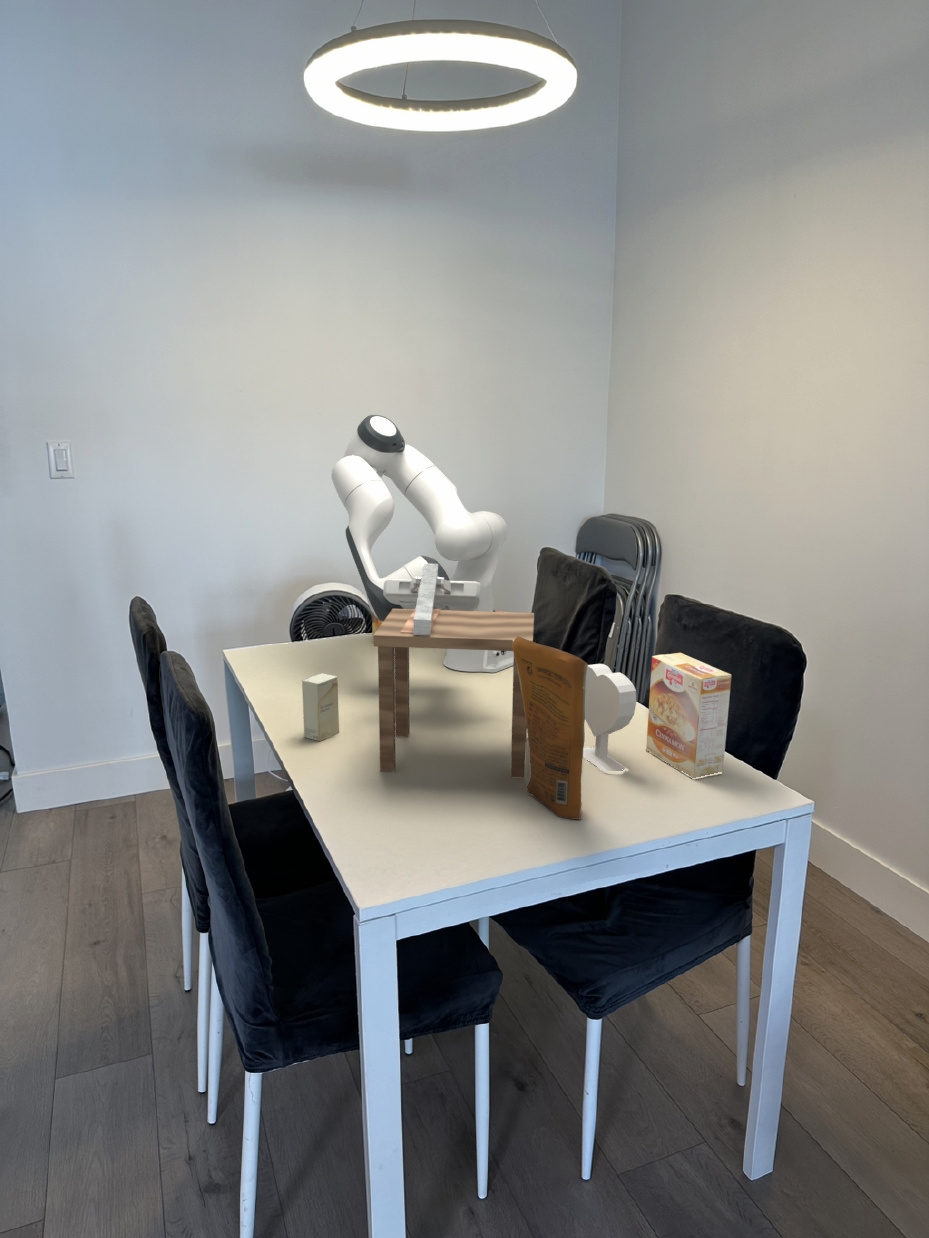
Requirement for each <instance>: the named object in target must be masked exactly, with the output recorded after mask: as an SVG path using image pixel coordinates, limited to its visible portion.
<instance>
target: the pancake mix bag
mask: <svg viewBox="0 0 929 1238" xmlns="http://www.w3.org/2000/svg"><path fill="white" fill-rule="evenodd" d="M512 648H513V654H514V658H515V661H516V665H517V669H518V675H519V681H520V688H521V694H522V698H523V704H524V711H525V718H526V725H527V741H528V742H527V743H528V748H529V751H528V752H529V753H528V754H529V770H530V771H529V780H528V782H527V785H526V791H527V793H528V794H530V795H531V796H532V797H533V798H535V799H536V800H537V801H538V802H540V803H541V804H542V805H544V806H545V807H546V808H547V809H549V810H550V811H551V812H552V813H553V814H555V815H556V816H557V817H561V818H565V819H571V820H583V819H582V806H583V804H582V802H583V801H582V774H583V771H582V770H583V759H584V758H583V748H584V747H585V741H586V740H585V722H586V720H585V693H586V672H587V666H588V665H589V664H588V663H587V662H586V661H585V660H583V659H582V658H580V657H578V656H577V655H574V654H571V653H569V652H566V651H563V650H561V649H558V648H555V647H552V646H548V645H544V644H541V643H536V642H534V641H533V642H532V641H530V640H527V639H524V638H522V637H519V636H517V637H516V639H515V640H513V642H512Z"/></svg>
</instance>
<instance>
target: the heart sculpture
mask: <svg viewBox="0 0 929 1238" xmlns="http://www.w3.org/2000/svg"><path fill="white" fill-rule="evenodd" d="M636 706H637V690H636V687H635V685H634V684H633V682H632V681H631V680H630V679H629V678H628V677H627V676H626V675H625V674H623V673H621V672H618V671H617V672H612V670H611V669H610V667H609V666H608V665H606V664H604V663H595V664H588V666H587V672H586V693H585V722H586V724H587V725H588V728H590V731H591V732H592V735H593V736H594V737H595V745H594V746H591V747H592V748H589V747H590V746H586V747H587V748H583V757H585V758H586V759H585V760H586V761H587V760H588V761H591V762H592V763H594V764H595V765H596V766H597V767H598V768H600V771H601V770H602V771H607V772H608V771H623V770H624V769H625V767H626V766H624V765H623V764H621V763H620V764H621V765H620V764H619V762H618V761H617V760H615V759H614V758H613V757H611V756H610V755H608V753H609V751H608V748H609V747H608V746H609V735H611V734H613V733H615V732H617V731H621V730H622V729H623V728H624V729H625V727H627V726H628V725H629V724H630V723H631V721H632V720H633V719H632V718H633V717H634V716H635V711H636ZM593 747H595V748H593ZM609 756H610V757H609ZM588 761H587V762H588ZM616 761H617V762H618V763H617V762H616ZM622 765H623V766H624V767H623V766H622ZM597 767H596V768H597ZM598 768H597V769H598ZM622 769H623V770H622ZM602 771H601V772H602Z"/></svg>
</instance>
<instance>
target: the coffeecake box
mask: <svg viewBox="0 0 929 1238" xmlns="http://www.w3.org/2000/svg"><path fill="white" fill-rule="evenodd" d="M650 670H651V673H650V683H649V684H650V685H649V702H648V712H647V713H648V714H647V715H648V716H647V727H646V729H647V731H646V732H647V733H646V745H645V747H646V748H645V751H646V750H647V751H646V752H648V751H649V752H651V753H652V754H654V755H655V756H654V755H653V756H654V757H656V756H657V757H658V758H657V757H656V758H657V759H659V758H660V759H659V760H660V761H662V760H663V761H662V762H664V761H666V762H667V763H669V764H670V765H672V766H673V767H675V768H677V769H678V770H680V771H683V772H684V773H686V774H688V775H689V776H691V777H692V778H696V777H701V776H705V775H710V774H714V773H718V772H722V771H723V772H724V762H725V749H726V741H727V729H728V727H727V726H728V720H729V719H728V717H729V708H730V695H731V683H732V674H731V673H729V672H726V671H724V670H721V669H719V668H717V667H714V666H712V665H710V664H708V663H705V662H703V661H701V660H698V659H696V658H693V657H691V656H689V655H686V654H685V653H682V652H676V653H675V652H674V653H666V654H657V655H652V656H651V669H650ZM649 752H648V753H649ZM651 753H650V754H651ZM652 754H651V755H652ZM667 763H666V764H667ZM669 764H668V765H669ZM670 765H669V766H670ZM672 766H671V767H672ZM673 767H672V768H673ZM675 768H674V769H675ZM677 769H676V770H677ZM678 770H677V771H678ZM680 771H679V772H680Z"/></svg>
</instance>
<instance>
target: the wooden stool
mask: <svg viewBox="0 0 929 1238" xmlns="http://www.w3.org/2000/svg"><path fill="white" fill-rule="evenodd" d="M415 609H416V608H415ZM415 609H392V610H391V612H390V613H389V615H388V616H387V617H386V619H385V620H384V621H383V623H382V624H381V626H380V627H379V628H378V630H377V631H376V632H375V634H374V635H373V634H372V644H373V647H377V658H378V659H377V662H378V663H377V664H378V667H377V668H378V669H377V671H378V718H379V719H378V723H379V724H378V725H379V727H378V728H379V729H378V730H379V731H378V732H379V737H378V738H379V771H380V772H385V773H394V772H395V770H396V766H397V761H396V760H397V757H396V756H397V754H396V753H397V751H396V745H397V743H396V737H400V738H403V737H405V738H408V737H409V736H410V732H411V731H410V725H411V724H410V722H411V721H410V709H411V708H410V648H411V649H414V648H415V649H417V648H418V649H441V650H443V649H445V650H447V649H467V650H496V651H513V648H512V642H513V640H515V639H516V637H517V636H519V637H522V638H524V639H527V640H530V641H532V642H534V626H535V625H534V624H535V612H513V611H511V612H509V611H501V612H497V611H495V612H484V611H452V610H440V609H434V611H433V618H432V626H431V634H430V636H417V635H413V624H414V615H415ZM512 672H513V673H512V674H513V675H512V705H511V706H512V709H511V710H512V711H511V715H512V716H511V745H510V746H511V747H510V748H511V749H510V751H511V752H510V753H511V755H510V778H511V779H512V778H513V779H525V776H526V743H527V741H528V734H527V725H526V718H525V711H524V704H523V698H522V694H521V688H520V681H519V675H518V669H517V665H516V661H515V658H514V664H513V671H512Z"/></svg>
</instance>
